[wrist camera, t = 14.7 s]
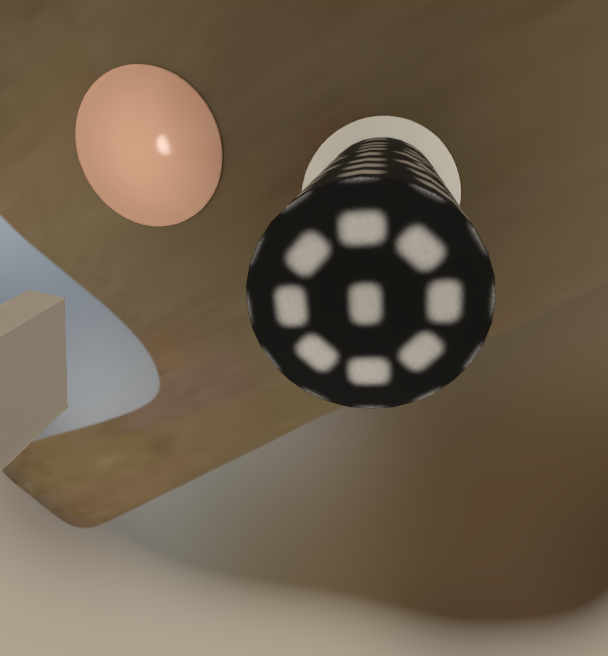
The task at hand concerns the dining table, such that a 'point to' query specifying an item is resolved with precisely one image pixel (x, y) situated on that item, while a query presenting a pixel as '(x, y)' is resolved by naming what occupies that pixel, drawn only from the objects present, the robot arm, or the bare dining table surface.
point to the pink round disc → (149, 145)
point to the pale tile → (392, 129)
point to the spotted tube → (372, 281)
